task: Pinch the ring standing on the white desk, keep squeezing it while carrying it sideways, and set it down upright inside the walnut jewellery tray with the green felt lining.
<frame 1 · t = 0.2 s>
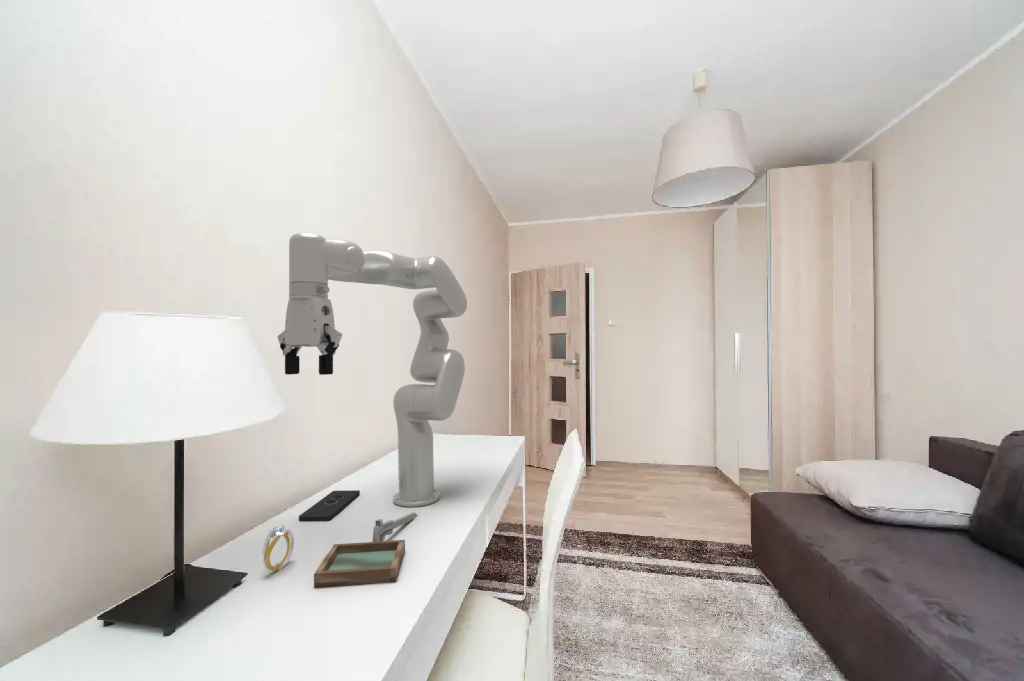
hand: (308, 374, 94), 37 cm above the table, tool pointing down, fingers open, 9 cm apart
smart home device: (331, 509, 119), on the table
ring: (278, 570, 85), on the table
jewellery tray: (363, 568, 84), on the table
caliper: (397, 534, 101), on the table
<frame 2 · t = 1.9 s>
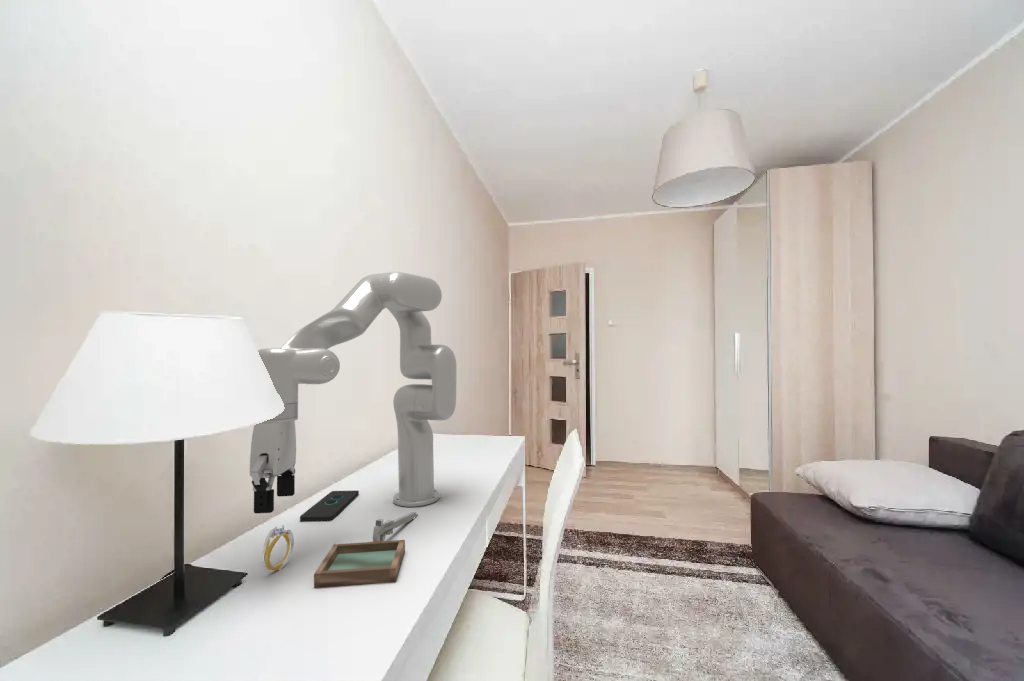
hand: (275, 503, 84), 13 cm above the table, tool pointing down, fingers open, 9 cm apart
nothing on the table moved.
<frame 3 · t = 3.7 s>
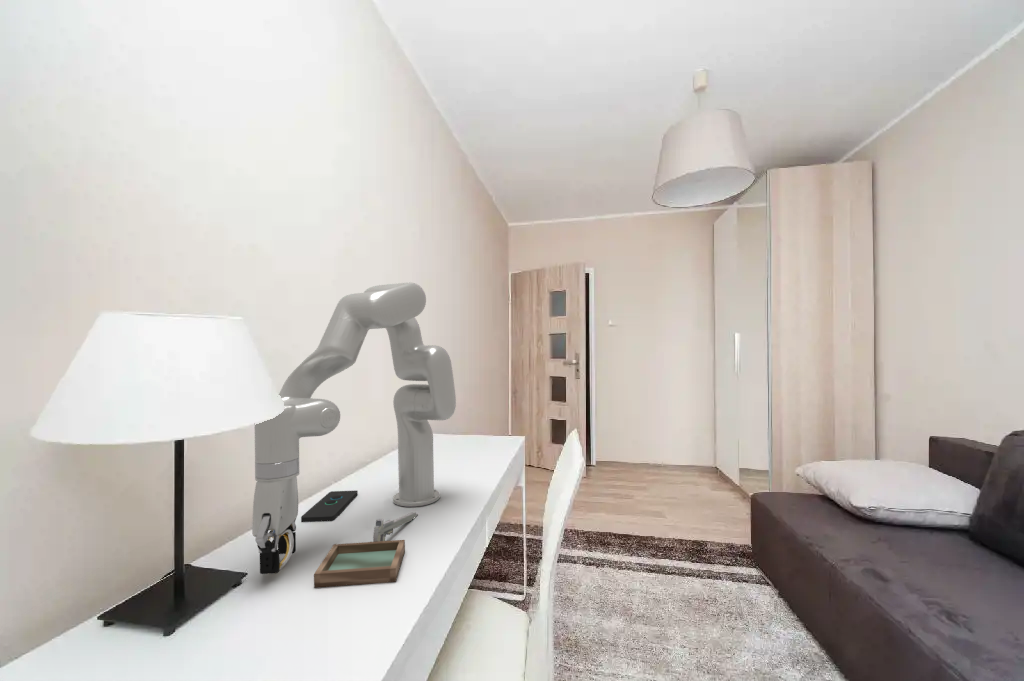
hand: (278, 561, 85), 1 cm above the table, tool pointing down, fingers closed on ring, 7 cm apart
ring: (278, 570, 85), on the table, touching gripper
everything else where it was.
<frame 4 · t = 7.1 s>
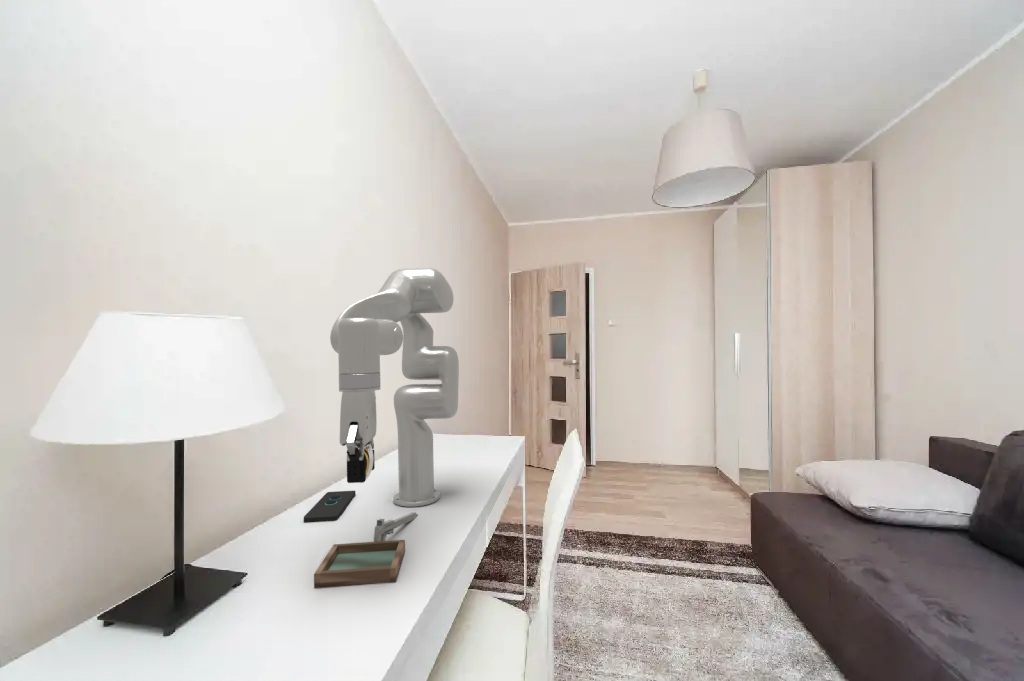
hand: (361, 475, 85), 18 cm above the table, tool pointing down, fingers closed on ring, 7 cm apart
ring: (361, 483, 85), point 16 cm above the table, touching gripper
everything else where it was.
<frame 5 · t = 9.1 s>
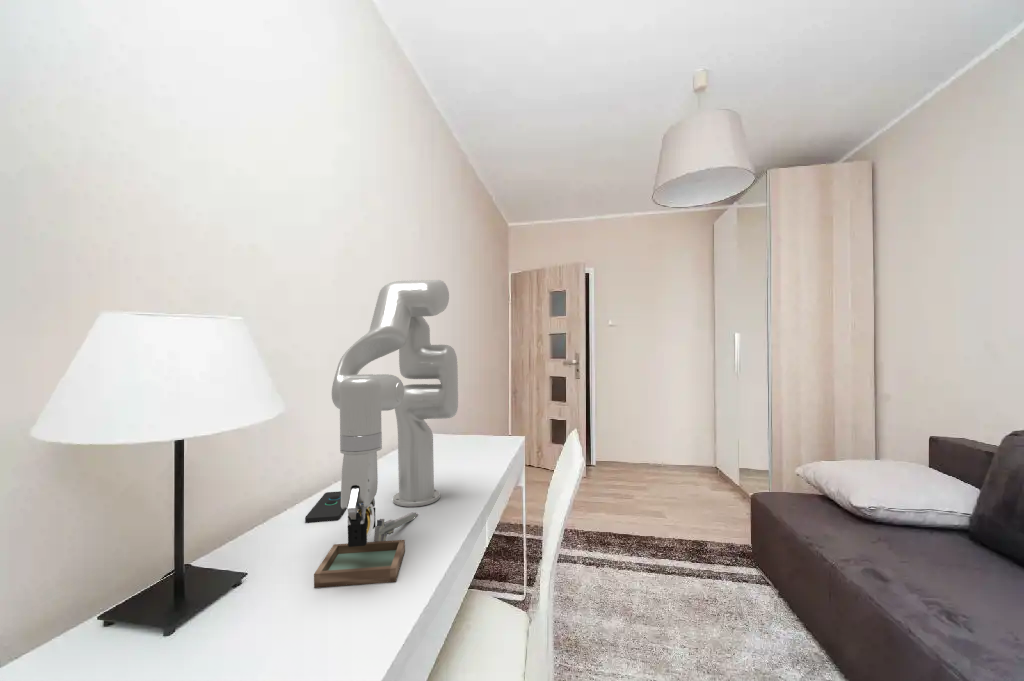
hand: (362, 536, 85), 6 cm above the table, tool pointing down, fingers closed on ring, 7 cm apart
ring: (362, 544, 84), point 5 cm above the table, touching gripper
when the fingers open (3 cm above the table, at t = 10.7 s): ring drops 1 cm, resting on jewellery tray.
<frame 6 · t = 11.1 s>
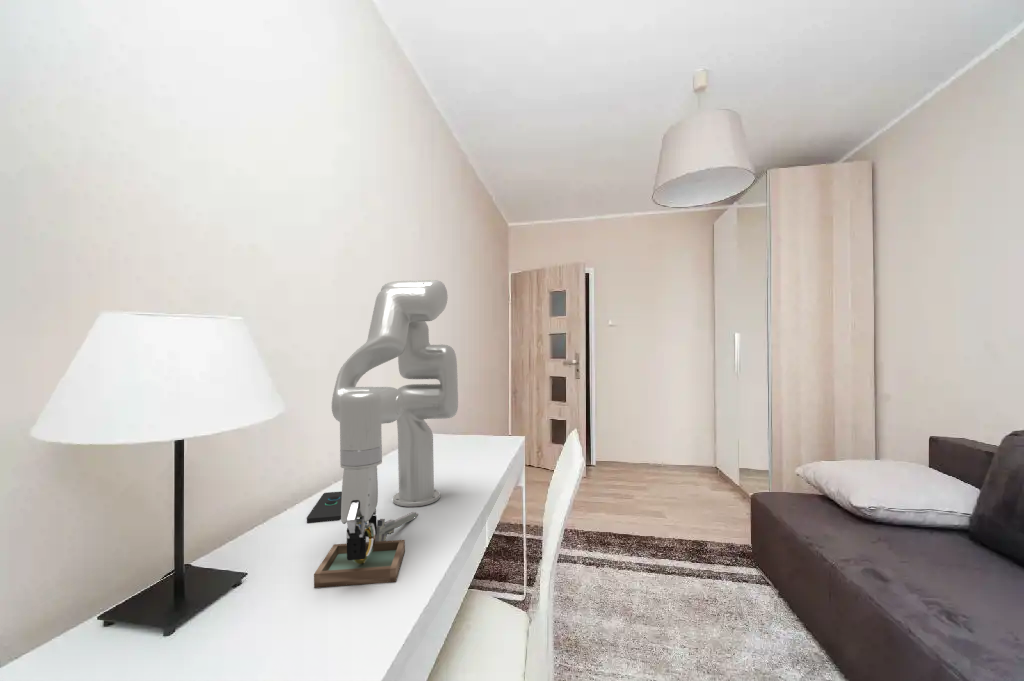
hand: (362, 547, 85), 4 cm above the table, tool pointing down, fingers open, 9 cm apart
ring: (363, 563, 85), point 1 cm above the table, touching jewellery tray
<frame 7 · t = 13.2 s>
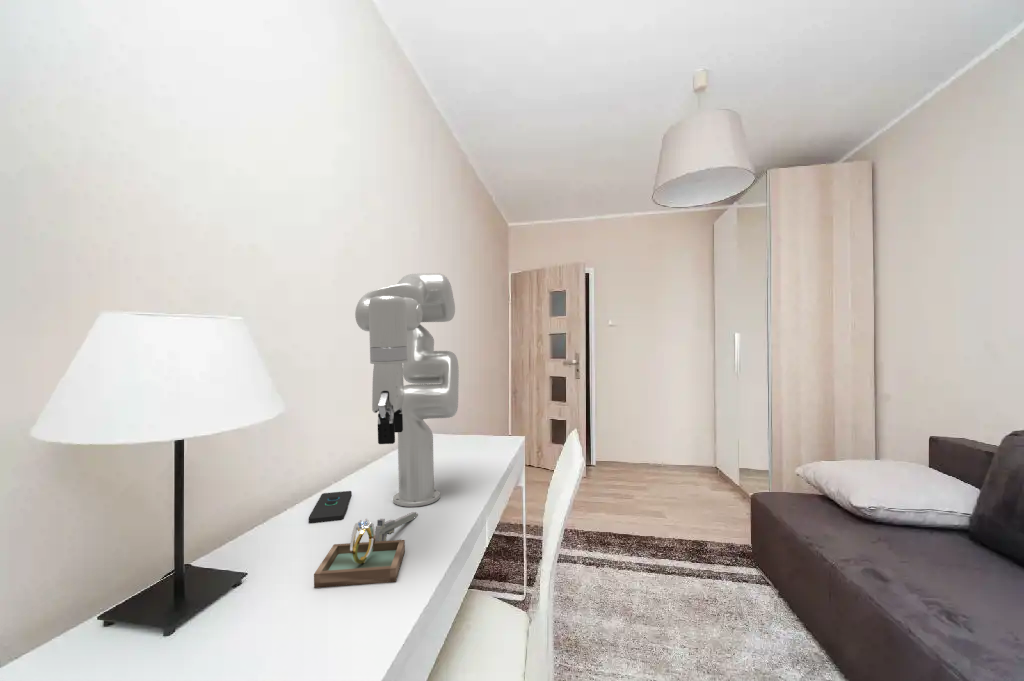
hand: (391, 437, 93), 23 cm above the table, tool pointing down, fingers open, 9 cm apart
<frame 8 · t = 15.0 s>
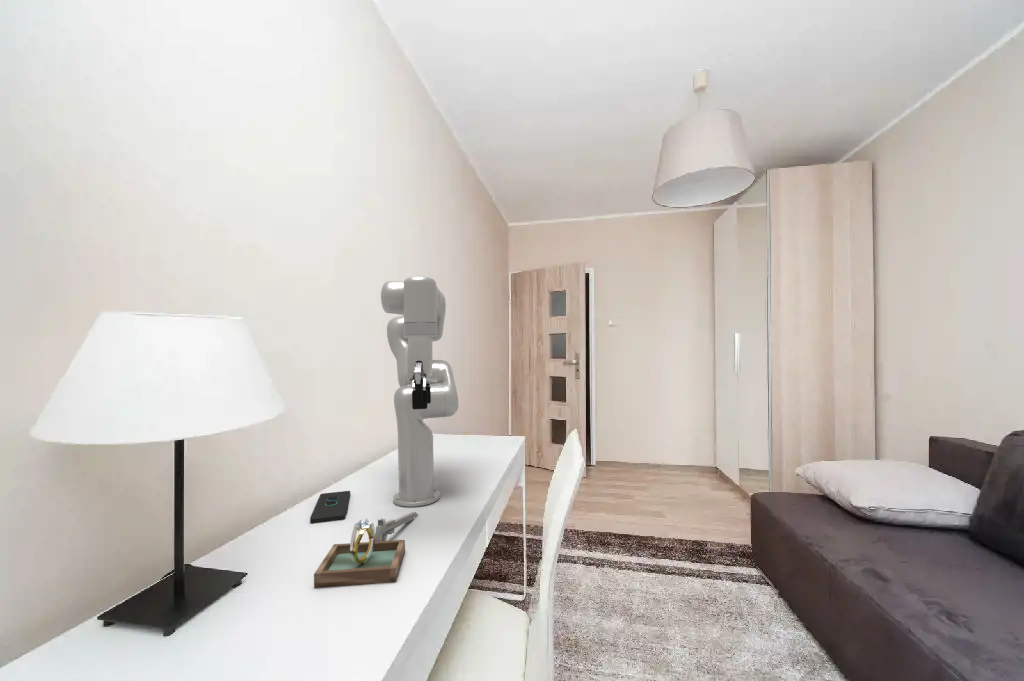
hand: (422, 406, 102), 28 cm above the table, tool pointing down, fingers open, 9 cm apart
at the end: ring inside the target area on the jewellery tray (0.3 cm from its centre), point 0.7 cm above the jewellery tray's base; the gripper is holding nothing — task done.
